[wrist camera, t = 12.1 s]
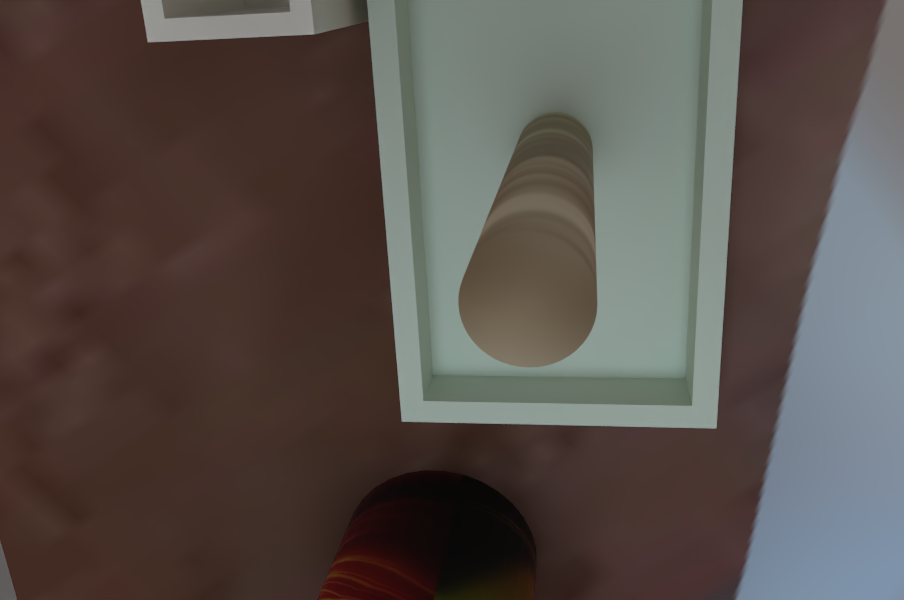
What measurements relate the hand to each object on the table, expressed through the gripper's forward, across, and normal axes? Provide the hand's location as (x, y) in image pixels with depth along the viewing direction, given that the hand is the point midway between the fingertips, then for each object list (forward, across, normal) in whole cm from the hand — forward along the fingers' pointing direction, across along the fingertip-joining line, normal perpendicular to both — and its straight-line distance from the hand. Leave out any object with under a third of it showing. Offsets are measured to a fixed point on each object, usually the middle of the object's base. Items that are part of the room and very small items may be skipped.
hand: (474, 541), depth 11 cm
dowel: (+26, 0, 0) cm, 26 cm away
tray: (+27, 0, 0) cm, 27 cm away
